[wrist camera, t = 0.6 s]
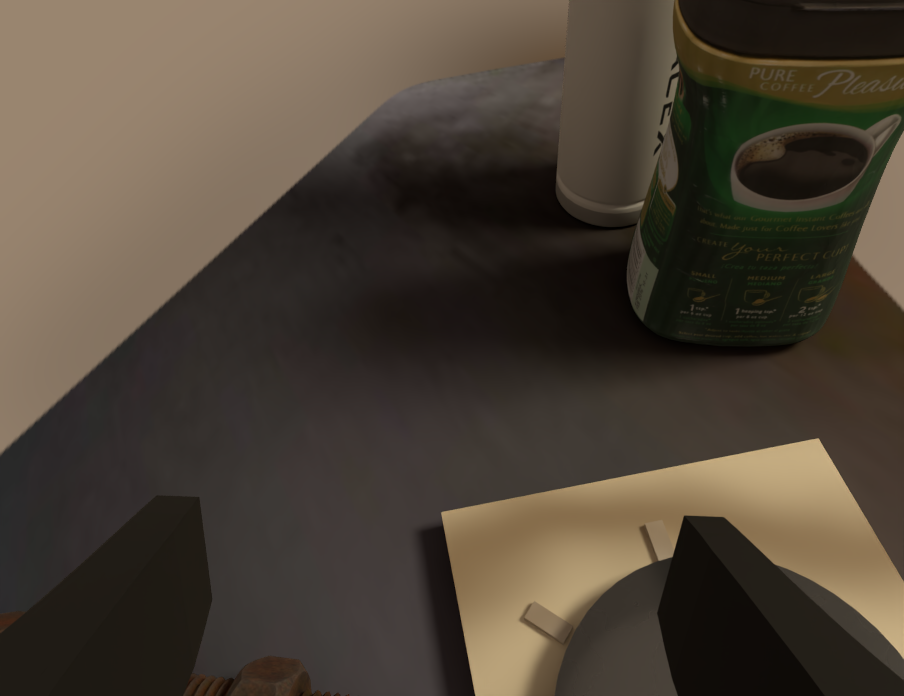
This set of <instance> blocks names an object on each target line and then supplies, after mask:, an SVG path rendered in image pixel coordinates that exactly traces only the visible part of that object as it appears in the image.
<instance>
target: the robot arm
mask: <svg viewBox="0 0 904 696" xmlns="http://www.w3.org/2000/svg"><path fill="white" fill-rule="evenodd" d="M211 602H212V593H211V586H210V578H209V570H208V562H207V554H206V547H205V539H204V531H203V523H202V515H201V507H200V500H199V497H182V496H156V497H155V498H154V499H152V500H151V501H150V502H149V503H148V504H147V505H146V506H144V507H143V508H142V509H141V510H140V511H139V512H138V513H137V514H135V515H134V516H133V517H132V518H131V519H130V520H129V521H128V522H127V523H126V524H125V525H123V526H122V527H121V528H120V529H119V530H118V531H117V532H116V533H115V534H114V535H113V536H111V537H110V538H109V539H108V540H107V541H106V542H105V543H104V544H103V545H102V546H101V547H99V548H98V549H97V550H96V551H95V552H94V553H93V554H92V555H91V556H90V557H88V558H87V559H86V560H85V561H84V562H83V563H82V564H81V565H80V566H78V567H77V568H76V569H75V570H74V571H73V572H72V573H70V574H69V575H68V576H67V577H66V578H65V579H64V580H63V581H61V582H60V583H59V584H58V585H57V586H56V587H55V588H53V589H52V590H51V591H50V592H49V593H48V594H47V595H45V596H44V597H43V598H42V599H41V600H40V601H39V602H37V603H36V604H35V605H34V606H33V607H32V608H30V609H29V610H28V611H27V612H26V613H24V614H23V615H22V616H21V617H20V618H18V619H17V620H16V621H15V622H13V623H12V624H11V625H10V626H8V627H7V628H6V629H5V630H4V631H2V632H1V633H0V696H183V694H184V692H185V689H186V687H187V684H188V682H189V679H190V676H191V674H192V671H193V669H194V666H195V662H196V658H197V655H198V651H199V648H200V644H201V641H202V637H203V633H204V629H205V625H206V621H207V618H208V614H209V610H210V606H211ZM657 615H658V620H659V624H660V629H661V634H662V638H663V643H664V648H665V652H666V656H667V660H668V664H669V668H670V673H671V677H672V680H673V683H674V686H675V689H676V692H677V695H678V696H904V680H903V679H902V678H900V677H899V676H898V675H897V674H896V673H894V672H893V671H892V670H891V669H890V668H888V667H887V666H886V665H885V664H884V663H882V662H881V661H880V660H879V659H878V658H877V657H875V656H874V655H873V654H872V653H871V652H870V651H868V650H867V649H866V648H865V647H864V646H863V645H862V644H860V643H859V642H858V641H857V640H856V639H855V638H854V637H852V636H851V635H850V634H849V633H848V632H847V631H846V630H845V629H843V628H842V627H841V626H840V625H839V624H838V623H837V622H836V621H835V620H833V619H832V618H831V617H830V616H829V615H828V614H827V613H826V612H825V611H824V610H823V609H822V608H820V607H819V606H818V605H817V604H816V603H815V602H814V601H813V600H812V599H811V598H810V597H809V596H808V595H806V594H805V593H804V592H803V591H802V590H801V589H800V588H799V587H798V586H797V585H796V584H795V583H794V582H793V581H792V580H791V579H789V578H788V577H787V576H786V575H785V574H784V573H783V572H782V571H781V570H780V569H779V568H778V567H777V566H776V565H775V564H774V563H773V562H772V561H771V560H770V559H768V558H767V557H766V556H765V555H764V554H763V553H762V552H761V551H760V550H759V549H758V548H757V547H756V546H755V545H754V544H753V543H752V542H751V541H750V540H749V539H747V538H746V537H745V536H744V535H743V534H742V533H741V532H740V531H739V530H738V529H737V528H736V527H735V526H733V525H732V524H731V523H730V522H729V521H728V520H727V519H726V518H724V517H713V516H687V515H684V517H683V521H682V524H681V528H680V532H679V535H678V539H677V543H676V546H675V550H674V553H673V557H672V561H671V564H670V568H669V571H668V575H667V579H666V582H665V586H664V590H663V593H662V597H661V600H660V604H659V608H658V611H657Z"/></svg>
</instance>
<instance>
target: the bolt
mask: <svg viewBox="0 0 904 696" xmlns="http://www.w3.org/2000/svg"><path fill="white" fill-rule="evenodd" d="M24 613H26V612H22V611H16V612H9V613H3V614H0V633H1V632H2V631H4V630H5V629H6V628H7V627H8V626H10V625H11V624H12V623H13V622H15V621H16V620H17V619H18V618H20V617H21V616H22V615H23V614H24ZM183 696H322V694H321V692H320V691H319V690H317V691H316V692H315V693H314V694H313V695H312V692H311V682H310V678H309V675H308V673H307V671H306V670H305V668H304V666H303V665H302V663H301V662H300V660H297V659H289V658H281V657H273V656H267V657H264V658H261V659H258V660H255V661H253V662H251V663H249V664H247V665H246V666H245V667H244V668H243V669H242V670H241V671H240V672H239V674H238V675H237V676H236V678H235V680H234V679H232V678H229V679H227V680H225V679H224V678H223V677H219V678H217V679H216V678H215V677H214V676H209V677H206V676H205V675H203V674H200V675H198V676H197V675H196V674H195V673H192V674H191V676H190V679H189V682H188V684H187V687H186V689H185V692H184V694H183ZM323 696H331V695H330V692H326V693H325V694H324V695H323ZM334 696H340V694H339V693H337V694H335V695H334ZM346 696H349V694H348V695H346Z"/></svg>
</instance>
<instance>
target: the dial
mask: <svg viewBox="0 0 904 696" xmlns="http://www.w3.org/2000/svg"><path fill="white" fill-rule="evenodd" d="M671 561H672V557H671V558H667V559H664V560H660V561H656V562H654V563H651V564H649V565H647V566H644V567H642V568H640V569H638V570H635V571H634V572H632V573H631V574H629V575H627V576H626V577H624V578H623V579H621V580H619V581H618V582H617V583H615V584H614V585H613V586H612V587H611V588H610V589H608V590H607V591H606V592H605V593H604V594H602V595H601V597H600V598H599V599H598V600H597V601H596V602H595V603H594V604H593V606H592V607H591V608H590V609H589V610H588V611H587V613H586V614H585V616H584V618H583V619H582V621H581V622H580V624H579V625H578V627H577V628H576V630H575V632H574V634H573V636H572V638H571V640H570V643H569V645H568V647H567V649H566V651H565V654H564V658H563V661H562V664H561V667H560V670H559V673H558V678H557V682H556V688H555V694H554V696H678V695H677V692H676V689H675V686H674V683H673V680H672V677H671V673H670V668H669V664H668V660H667V656H666V652H665V648H664V643H663V638H662V634H661V629H660V624H659V620H658V615H657V611H658V608H659V604H660V600H661V597H662V593H663V590H664V586H665V582H666V579H667V575H668V571H669V568H670V564H671ZM776 566H777V567H778V568H779V569H780V570H781V571H782V572H783V573H784V574H785V575H786V576H787V577H788V578H789V579H791V580H792V581H793V582H794V583H795V584H796V585H797V586H798V587H799V588H800V589H801V590H802V591H803V592H804V593H805V594H806V595H808V596H809V597H810V598H811V599H812V600H813V601H814V602H815V603H816V604H817V605H818V606H819V607H820V608H822V609H823V610H824V611H825V612H826V613H827V614H828V615H829V616H830V617H831V618H832V619H833V620H835V621H836V622H837V623H838V624H839V625H840V626H841V627H842V628H843V629H845V630H846V631H847V632H848V633H849V634H850V635H851V636H852V637H854V638H855V639H856V640H857V641H858V642H859V643H860V644H862V645H863V646H864V647H865V648H866V649H867V650H868V651H870V652H871V653H872V654H873V655H874V656H875V657H877V658H878V659H879V660H880V661H881V662H882V663H884V664H885V665H886V666H887V667H888V668H890V669H891V670H892V671H893V672H894V673H896V674H897V675H898V676H899V677H900V678H902V679H903V680H904V659H903V657H902V656H901V655H900V653H899V652H898V651H897V650H896V649H895V647H894V646H893V645H892V644H891V643H890V642H889V641H888V640H887V639H886V638H885V637H884V636H883V635H882V633H881V632H880V631H879V630H878V629H877V628H876V627H875V626H874V625H872V624H871V623H870V622H869V621H868V620H867V619H866V618H865V617H863V616H862V615H861V614H860V613H859V612H858V611H857V610H856V609H854V608H853V607H851V606H850V605H849V604H847V603H846V602H845V601H843V600H842V599H841V598H839V597H838V596H837V595H835V594H834V593H832V592H831V591H829V590H827V589H826V588H824V587H822V586H821V585H819V584H817V583H816V582H814V581H812V580H810V579H808V578H806V577H804V576H802V575H800V574H798V573H795V572H793V571H791V570H789V569H786V568H784V567H781V566H778V565H776Z"/></svg>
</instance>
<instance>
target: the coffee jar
mask: <svg viewBox="0 0 904 696" xmlns="http://www.w3.org/2000/svg"><path fill="white" fill-rule="evenodd" d="M673 37H674V44H675V49H676V54H677V59H678V64H679V76H678V82H677V87H676V92H675V97H674V102H673V107H672V111H671V116H670V120H669V124H668V128H667V131H666V135H665V138H664V141H663V144H662V148H661V152H660V155H659V158H658V161H657V164H656V167H655V170H654V174H653V177H652V180H651V183H650V186H649V189H648V192H647V195H646V198H645V201H644V204H643V207H642V210H641V213H640V216H639V219H638V222H637V225H636V229H635V232H634V236H633V240H632V244H631V248H630V252H629V258H628V265H627V287H628V293H629V298H630V301H631V305H632V307H633V310H634V312H635V314H636V315H637V317H638V318H639V320H640V321H641V322H642V323H643V324H644V325H645V326H646V327H647V328H649V329H650V330H651V331H653V332H654V333H656V334H657V335H659V336H662V337H664V338H667V339H670V340H675V341H680V342H687V343H695V344H705V345H715V346H744V347H751V346H775V345H786V344H792V343H796V342H800V341H802V340H805V339H807V338H809V337H811V336H812V335H814V334H815V333H817V332H818V331H819V330H820V329H821V328H822V326H823V325H824V324H825V322H826V320H827V318H828V316H829V314H830V312H831V310H832V307H833V305H834V303H835V300H836V298H837V296H838V293H839V291H840V288H841V285H842V283H843V280H844V277H845V274H846V271H847V268H848V266H849V263H850V260H851V257H852V254H853V251H854V248H855V245H856V242H857V239H858V237H859V234H860V231H861V228H862V225H863V223H864V220H865V218H866V215H867V212H868V210H869V207H870V205H871V202H872V199H873V197H874V194H875V192H876V189H877V187H878V184H879V182H880V179H881V177H882V174H883V172H884V170H885V167H886V165H887V163H888V161H889V159H890V157H891V154H892V152H893V150H894V148H895V146H896V144H897V142H898V140H899V138H900V136H901V135H902V133H903V131H904V0H674V6H673Z"/></svg>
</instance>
